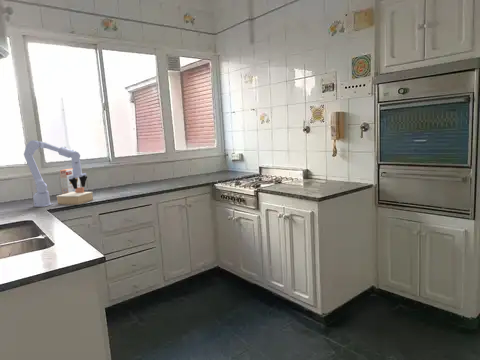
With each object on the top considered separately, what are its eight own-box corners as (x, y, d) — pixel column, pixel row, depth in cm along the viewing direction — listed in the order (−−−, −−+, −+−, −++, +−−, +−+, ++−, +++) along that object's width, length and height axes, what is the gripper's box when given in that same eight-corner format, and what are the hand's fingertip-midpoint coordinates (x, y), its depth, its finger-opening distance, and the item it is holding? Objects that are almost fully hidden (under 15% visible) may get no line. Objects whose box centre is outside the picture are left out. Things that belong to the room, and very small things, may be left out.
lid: (56, 196, 227) (55, 190, 226) (72, 192, 240) (71, 187, 240) (77, 196, 222) (76, 190, 221) (92, 192, 235) (92, 186, 235)
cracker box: (69, 197, 250) (65, 170, 247) (62, 197, 252) (58, 170, 248) (81, 193, 264) (78, 167, 261) (75, 194, 265) (71, 168, 262)
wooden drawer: (58, 204, 227) (57, 197, 227) (73, 199, 241) (72, 192, 240) (78, 204, 223) (77, 197, 222) (93, 199, 236) (92, 192, 235)
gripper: (73, 169, 225) (76, 189, 227) (89, 167, 239) (91, 185, 241) (65, 170, 227) (68, 189, 229) (80, 167, 241) (83, 185, 243)
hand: (79, 187), depth 235 cm, fingers open, 7 cm apart
